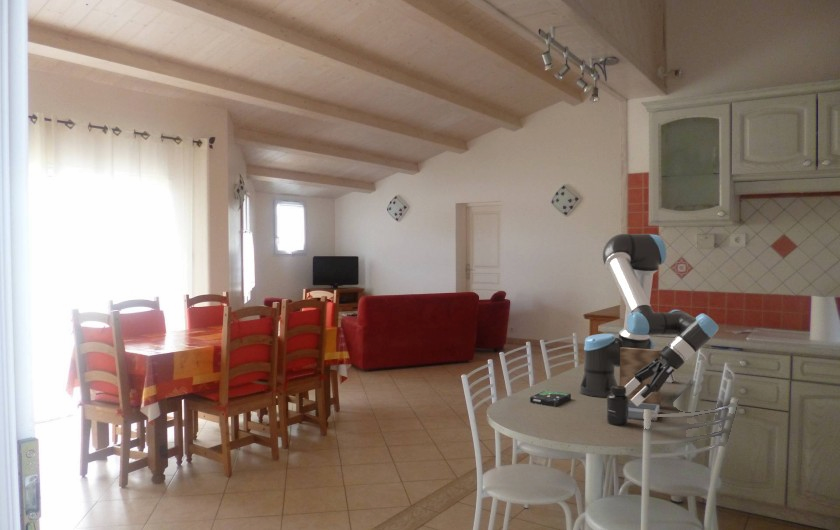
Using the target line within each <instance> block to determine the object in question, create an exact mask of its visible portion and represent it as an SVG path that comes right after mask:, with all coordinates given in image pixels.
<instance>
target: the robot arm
mask: <svg viewBox="0 0 840 530" xmlns="http://www.w3.org/2000/svg"><path fill="white" fill-rule="evenodd" d="M666 258H667V247H666V244H665V242H664V240H663V238H662V237H661V236H660V235H658V234H652V233H620V234H619V233H618V234H617V235H614V236H612V237H611V238H610V239H608V241H607V242H606V243H605V245H604V247H603V251H602V260H603V264H604V266H605V268H606V270H607V271H609V272H610V273H611V276H612V278H613V280H614V282H615V285H616V287H617V289H618V290H619V294H620V295H621V298H622V300H623V302H624V305H625V312H624V313H625V316H624V323H623V324H624V325H623V329H620V330H619V332H618V333H619V334H618V337H616V335H614V334H612V333H598V334H597V333H596V334H592V335H589V336H587V337H585V339H584V346H583V351H584V352H583V355H584V358H583V360H584V361H583V364H584V366H583V375H582V378H581V381H580V383H579V389H578V390H579V394H582V395H585V396H591V397H596V398H597V397H599V398H600V397H601V398H607V397H608V395H609V394H611V392H610V390H611V386H618V382H617V380H616V377H615V368H620V348H621V347H625V348H639V349H652V350H655V347H654V346H655V344H654V341H653V340H652V339H651V337H650V336H657V335H659V336H660V335H661V336H665V335H666V336H669V335H670V336H673V335H674V338H672V339H671V340H670V341H669V342H668V344H667V345H666V346H664V347H663V348H662V349H660V350H661V351H660V352H659V354H660V356H661V359H660V360H659V359H658V358H655V359H654V360H653V361H652V362H651V363H649V364H648V365H646V366H645V367H643V368H642V369H641V370H639V371H638V372H636V373H635V374H634V375H635V377H634V378H633V379H632V380H631V381H630V382H629V383H628V384H627V385H626V386H625V388H626V394H625V395H626V396H628V395H629V394H630V393H631V392H632V391H633V390H634V389H635V388H636V387H638V386H639V385H640V384H642V382H643V380H645V379H647V378H649V377H651V376H653V377H652V379H651V380H650V382H649V384H646V386H647V387H648V388H647V387H646V386H645V387H644V388H643V389H642V390H640V391H639V392H638V393H637V394H636V395H635V396H634V397H633V398H632V399H631V401H632V402H633V403H634V404H635V405H636V406H638V405H640V404H641V403H642V402H643V401H644V400H645V399H646V398H647V397H648V396H649V395H650V394H651V393H652V392H658V391H659V389H660V390H661V388H662V386H664V384H665V383H666V382H665V381H666V380H667V378H668V377H669V376H670V375H671V374H672V373H674V372H675V370H679V368H681V366H683V365H684V364H685V361H688V360H689V359H690V358H693V357H694V355H695V353H696V352H697V351H699V350H700V349H701V348H702V347H703V346H704V345H705V344H706V343H708V341H710V340H711V339H712V338H713V337H714V336H715V334H716V333H717V332H718V331H719V329H720V328H719V325H718V324H717V323H716V322H715V320H713V319H712V318H711V317H710V316H709V315H707V314H705V313H700V314H698V315H697V316H695V317H694V316H693V315H690V314H689V313H687V312H685V311H683V310H681V309H672V310H670V311H668V312H655V311H654V310H653V308H652V306H651V297H652V296H651V294H652V286H653V279H654V274H655V273H657V272H658V271H659V266H660V265H663V264H664V263H665V261H666Z"/></svg>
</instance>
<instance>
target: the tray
mask: <svg viewBox="0 0 840 530" xmlns="http://www.w3.org/2000/svg"><path fill="white" fill-rule="evenodd" d="M644 409H650V410H651V411H652V412H654V413H659V414H660V409H659V405H655V404H646V403H641V404H640V405H638V406H636V405H635V404H634V403H633V402H629V409H628V419H633V420H641V421H644V420H643V413H644V412H643V410H644ZM657 420H658V417H657V418H652V421H651V422H657Z"/></svg>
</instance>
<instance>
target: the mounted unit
mask: <svg viewBox="0 0 840 530" xmlns="http://www.w3.org/2000/svg"><path fill="white" fill-rule="evenodd" d="M661 350H662V349H654V350H652V349H639V348H625V347H621V348H620V367H619V386H623V387H625V386H626V385H627V384H628V383H629V382H630V381H631V380H632V379H633V378H634V377H635V375H634V374H635V373H636V372H638V371H639V370H641V369H642V368H643V367H645V366H646V365H648V364H649V363H651V362H652V361H653V360H654V359H655V358H658V359H659V360H660V359H661V358H662V357H661V356H660V354H659V352H660V351H661ZM652 377H653V376H651V377H649V378H647V379H645V380H643V382H642V384H640V385H639V386H638V387H636V388H635V389H634V390H633V391H632V392H631V393H630V394H629V395H628V396H627V397H628V398H629V402H632V401H631V399H632V398H633V397H634V396H635V395H636V394H637V393H638V392H639V391H640V390H642V389H643V388H644V387H645V386H646V384H649V382H650V380H651V379H652ZM646 387H647V386H646ZM647 388H648V387H647ZM642 403H646V404H655V405H659V410H660V409H661V388H660V389H659V391H658V392H652V393H651V394H650V395H649V396H648V397H647V398H646V399H645V400H644V401H643V402H642Z"/></svg>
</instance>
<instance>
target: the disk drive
mask: <svg viewBox="0 0 840 530" xmlns="http://www.w3.org/2000/svg"><path fill="white" fill-rule="evenodd" d="M529 397H530V398H529V399H530V400H529V403H530V402H531V403H532V404H535V403H537V404H536V405H541V404H542V405H543V406H548V407H553V408H554V407H555V408H556V407H558V406H560V405H561V404H564V403H566V402H568V400H569V401H571V400H570V399H572V394H571V393H567V392H562V391H552V390H543V391H541V392H539V393H537V394H535V395H532V396H529ZM531 403H530V404H531Z"/></svg>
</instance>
